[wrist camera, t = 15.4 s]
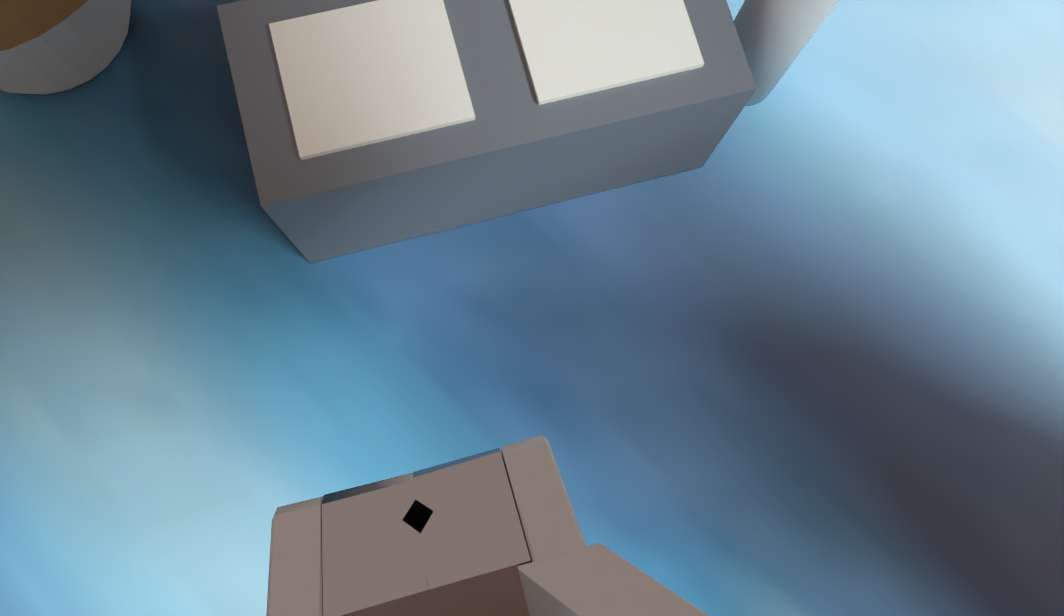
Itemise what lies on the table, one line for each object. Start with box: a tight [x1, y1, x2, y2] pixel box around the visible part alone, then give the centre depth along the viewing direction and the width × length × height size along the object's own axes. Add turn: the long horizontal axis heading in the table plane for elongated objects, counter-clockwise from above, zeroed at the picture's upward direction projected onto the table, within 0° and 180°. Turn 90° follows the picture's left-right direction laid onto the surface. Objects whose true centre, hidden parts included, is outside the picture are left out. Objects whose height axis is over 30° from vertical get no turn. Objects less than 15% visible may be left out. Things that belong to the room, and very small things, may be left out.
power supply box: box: [217, 0, 839, 263], centre depth 25 cm, size 18×6×8 cm, turn 105°
